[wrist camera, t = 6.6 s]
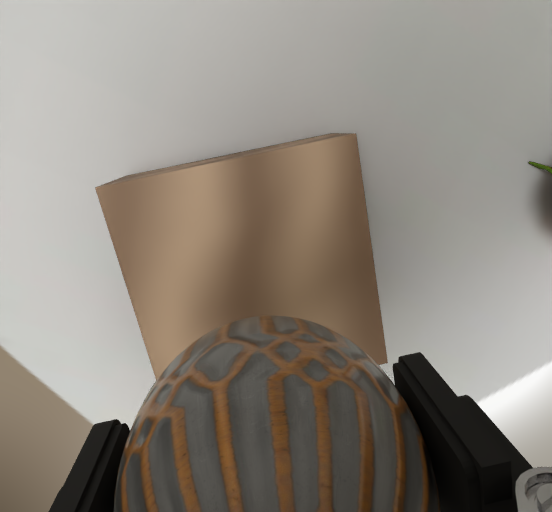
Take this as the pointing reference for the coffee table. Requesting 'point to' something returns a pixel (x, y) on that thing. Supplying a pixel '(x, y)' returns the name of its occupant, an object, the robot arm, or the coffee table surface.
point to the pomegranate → (541, 166)
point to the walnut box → (248, 244)
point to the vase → (275, 429)
